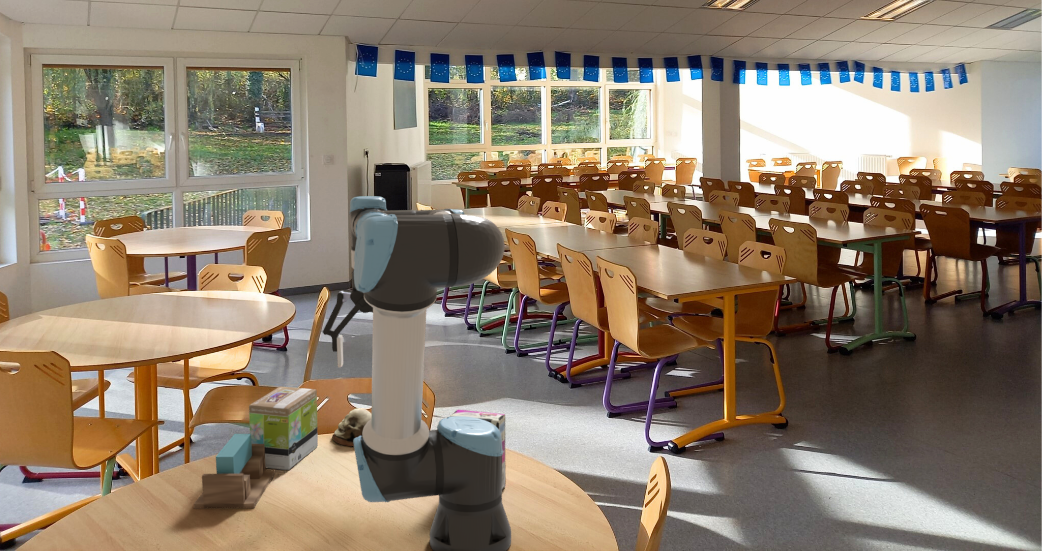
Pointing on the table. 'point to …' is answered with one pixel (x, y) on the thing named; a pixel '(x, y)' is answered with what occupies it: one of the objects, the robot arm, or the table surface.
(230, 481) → the cradle
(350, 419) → the skull
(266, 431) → the tea box
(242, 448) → the long teal rectangular block
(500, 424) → the candy bar box
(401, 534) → the table surface
